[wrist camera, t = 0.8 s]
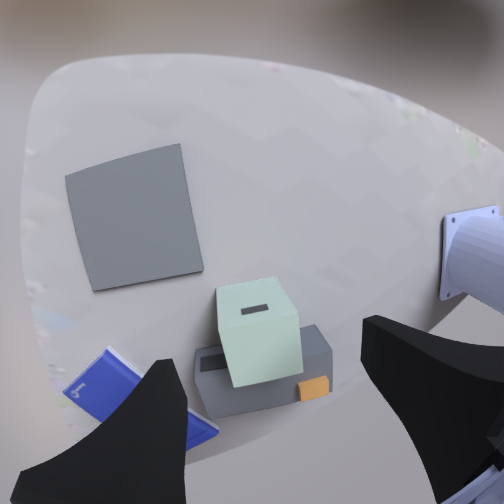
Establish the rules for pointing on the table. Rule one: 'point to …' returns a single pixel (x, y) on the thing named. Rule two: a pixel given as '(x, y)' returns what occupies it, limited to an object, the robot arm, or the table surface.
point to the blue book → (122, 393)
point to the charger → (258, 331)
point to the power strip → (265, 393)
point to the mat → (135, 218)
